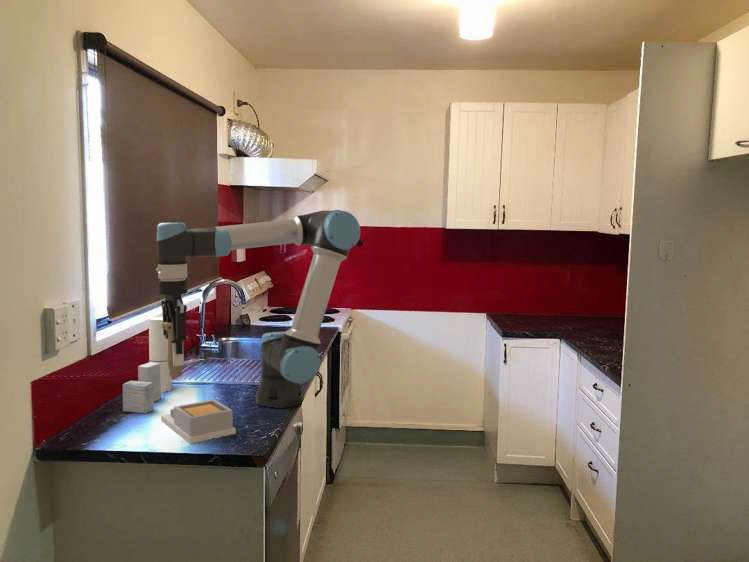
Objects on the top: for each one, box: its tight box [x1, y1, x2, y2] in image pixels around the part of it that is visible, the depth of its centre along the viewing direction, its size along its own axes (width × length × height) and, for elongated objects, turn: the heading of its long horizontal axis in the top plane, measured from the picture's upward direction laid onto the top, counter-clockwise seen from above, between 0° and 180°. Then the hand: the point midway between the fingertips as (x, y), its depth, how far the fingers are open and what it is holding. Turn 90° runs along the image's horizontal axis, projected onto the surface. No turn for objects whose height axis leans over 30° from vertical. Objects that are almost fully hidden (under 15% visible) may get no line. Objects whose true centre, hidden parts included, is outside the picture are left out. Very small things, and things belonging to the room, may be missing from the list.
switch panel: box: [160, 399, 237, 445], centre depth 167 cm, size 13×22×6 cm, turn 39°
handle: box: [162, 322, 184, 379], centre depth 161 cm, size 5×6×15 cm
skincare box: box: [137, 361, 162, 402], centre depth 189 cm, size 6×4×12 cm
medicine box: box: [122, 380, 155, 414], centre depth 179 cm, size 8×4×9 cm, turn 77°
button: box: [184, 404, 221, 417], centre depth 163 cm, size 8×8×2 cm
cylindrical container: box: [148, 316, 173, 393], centre depth 201 cm, size 7×7×25 cm
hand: (175, 363), depth 162 cm, fingers closed on handle, 4 cm apart
